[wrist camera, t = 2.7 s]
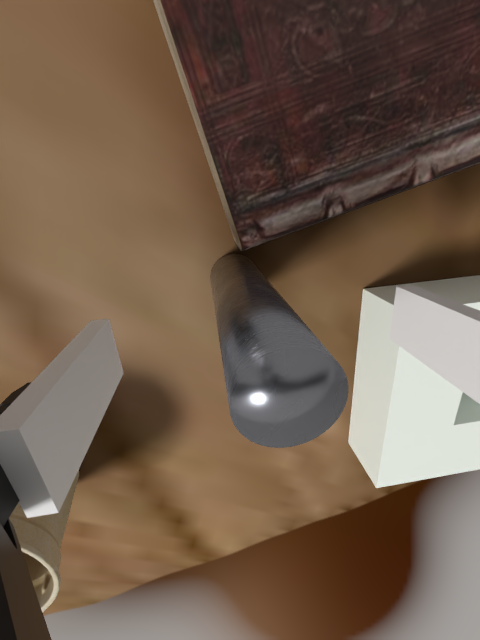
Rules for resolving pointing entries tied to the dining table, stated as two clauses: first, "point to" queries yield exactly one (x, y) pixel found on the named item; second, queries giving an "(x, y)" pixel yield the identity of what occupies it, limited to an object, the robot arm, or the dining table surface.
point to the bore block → (409, 398)
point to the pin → (272, 360)
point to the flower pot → (43, 546)
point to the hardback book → (325, 101)
